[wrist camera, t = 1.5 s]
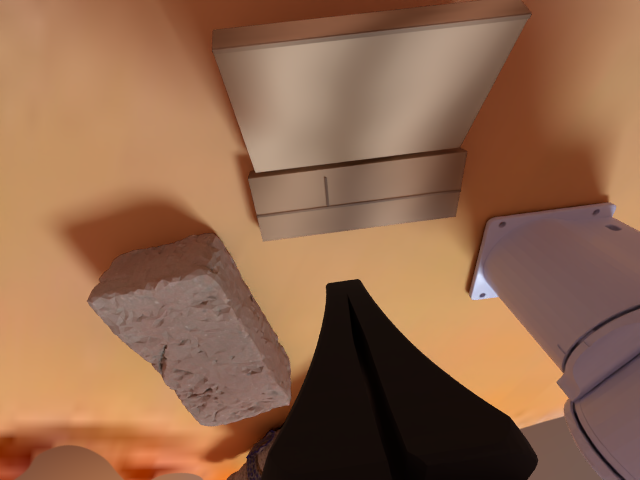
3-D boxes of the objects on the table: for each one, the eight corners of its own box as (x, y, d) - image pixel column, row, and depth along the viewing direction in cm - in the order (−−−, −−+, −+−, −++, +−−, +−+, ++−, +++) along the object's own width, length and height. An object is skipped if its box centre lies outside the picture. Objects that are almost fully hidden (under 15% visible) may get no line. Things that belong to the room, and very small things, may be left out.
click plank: (518, -5, 12) (532, 13, 11) (453, 132, 18) (460, 148, 17) (213, 30, 11) (211, 49, 11) (255, 157, 18) (255, 173, 17)
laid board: (457, 145, 19) (467, 151, 18) (447, 208, 21) (456, 216, 20) (250, 171, 18) (247, 179, 17) (264, 232, 21) (262, 242, 20)
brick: (107, 257, 21) (67, 306, 17) (218, 224, 20) (203, 267, 17) (215, 381, 30) (204, 431, 26) (294, 361, 30) (295, 409, 26)
